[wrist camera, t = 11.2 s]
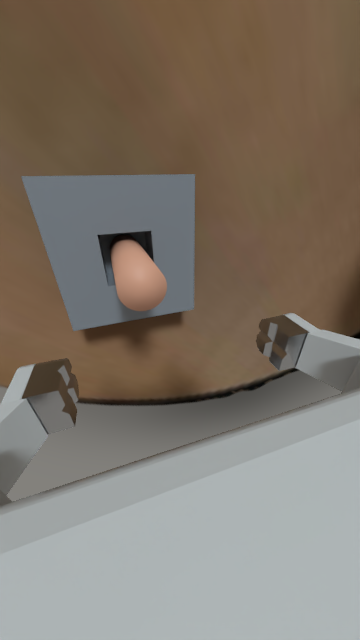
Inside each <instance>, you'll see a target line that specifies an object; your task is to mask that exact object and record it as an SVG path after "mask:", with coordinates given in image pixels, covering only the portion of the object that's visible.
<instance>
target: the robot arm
mask: <svg viewBox="0 0 360 640" xmlns="http://www.w3.org/2000/svg"><path fill="white" fill-rule="evenodd" d="M259 329H260V330H261V331H260V332H259V334H258V335H257V339H256V343H257V347H258V349H259V351H260V352H261V353H262V354H263V355H265V356H268V357H269V361H270V362H271V363H272V364H273V365H274V366H275V367H276V368H277V369H278V370H279V371H281V370H285V369H289V368H293V367H296V368H297V369H299V370H301V371H303V372H305V373H307V374H309V375H311V376H313V377H315V378H317V379H319V380H320V381H322V382H324V383H326V384H328V385H330V386H332V387H334V388H336V389H338V390H340V391H342V393H341V394H339V395H336V396H332V397H330V398H327V399H323V400H321V401H317V402H315V403H311V404H309V405H305V406H302V407H299V408H296V409H293V410H290V411H287V412H284V413H281V414H278V415H275V416H272V417H269V418H266V419H263V420H260V421H257V422H254V423H251V424H248V425H245V426H242V427H239V428H236V429H232V430H230V431H227V432H223V433H220V434H217V435H214V436H211V437H208V438H205V439H202V440H199V441H196V442H193V443H190V444H187V445H184V446H181V447H178V448H175V449H172V450H169V451H166V452H162V453H160V454H156V455H153V456H150V457H147V458H144V459H141V460H139V461H135V462H132V463H129V464H126V465H123V466H120V467H117V468H114V469H111V470H108V471H105V472H102V473H99V474H96V475H92V476H89V477H86V478H83V479H80V480H77V481H74V482H71V483H68V484H65V485H62V486H59V487H56V488H53V489H50V490H47V491H44V492H41V493H38V494H35V495H32V496H29V497H26V498H22V499H19V500H16V501H13V502H12V501H11V500H10V499H9V498H8V497H7V496H6V495H7V494H8V492H9V491H10V489H11V488H12V487H13V485H14V484H15V482H16V481H17V480H18V478H19V477H20V475H21V474H22V472H23V471H24V469H25V468H26V467H27V465H28V464H29V463H30V461H31V460H32V458H33V457H34V455H35V454H36V453H37V451H38V450H39V448H40V447H41V445H42V444H43V443H44V441H45V440H46V438H47V437H48V434H51V433H55V432H58V431H61V430H65V429H68V428H71V427H74V426H75V422H76V414H77V409H76V406H75V403H76V402H77V401H78V397H79V389H78V382H77V379H76V376H75V375H74V374H72V373H71V368H72V366H71V363H70V361H69V359H67V358H65V359H59V360H54V361H48V362H43V363H37V364H32V365H27V366H22V367H20V368H18V369H17V371H16V373H15V375H14V377H13V379H12V381H11V383H10V385H9V387H8V390H7V392H6V394H5V396H4V398H3V400H2V402H1V404H0V640H360V339H356V338H352V337H349V336H345V335H341V334H337V333H334V332H330V331H326V330H319V329H318V328H316V327H314V326H313V325H311V324H310V323H308V322H307V321H305V320H303V319H302V318H300V317H299V316H297V315H296V314H293V313H288V314H284V315H281V316H276V317H271V318H266V319H262V320H261V321H260V324H259Z"/></svg>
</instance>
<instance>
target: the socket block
mask: <svg viewBox="0 0 360 640" xmlns="http://www.w3.org/2000/svg"><path fill="white" fill-rule="evenodd" d="M21 177H22V180H23V183H24V186H25V189H26V192H27V195H28V198H29V201H30V204H31V207H32V210H33V213H34V216H35V219H36V221H37V224H38V227H39V230H40V233H41V236H42V239H43V242H44V245H45V248H46V251H47V254H48V257H49V260H50V263H51V266H52V269H53V272H54V275H55V278H56V280H57V283H58V286H59V289H60V292H61V295H62V298H63V301H64V304H65V307H66V310H67V313H68V316H69V319H70V322H71V325H72V328H73V331H76V330H82V329H87V328H93V327H98V326H104V325H109V324H115V323H120V322H126V321H131V320H137V319H142V318H148V317H153V316H159V315H164V314H170V313H175V312H181V311H187V310H192V309H194V233H195V174H181V175H99V176H21ZM123 234H125V235H130V236H132V237H133V238H135V239H136V240H137V242H138V243H139V244H140V245H141V247H142V248H143V249H144V250H145V252H146V253H147V254H148V256H149V257H150V258H151V259H152V261H153V262H154V263H155V265H156V266H157V267H158V268H159V270H160V271H161V272H162V273H163V275H164V277H165V279H166V282H167V291H166V295H165V297H164V299H163V300H162V302H161V303H160V304H159V305H157V306H156V307H155V308H153V309H150V310H147V311H135V310H132V309H129V308H127V307H126V306H125V305H124V304H123V303H122V302H121V301H120V299H119V297H118V294H117V289H116V284H115V279H114V273H113V268H112V262H111V257H110V251H109V247H110V243H111V241H112V240H113V239H114V238H115V237H117V236H119V235H123Z"/></svg>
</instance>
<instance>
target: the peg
mask: <svg viewBox="0 0 360 640" xmlns="http://www.w3.org/2000/svg"><path fill="white" fill-rule="evenodd" d="M109 251H110V257H111V262H112V268H113V273H114V279H115V284H116V289H117V294H118V297H119V299H120V301H121V302H122V303H123V304H124V305H125V306H126V307H127V308H129V309H132V310H135V311H147V310H150V309H153V308H155V307H156V306H157V305H159V304H160V303H161V302H162V300H163V299H164V297H165V295H166V291H167V282H166V279H165V277H164V275H163V273H162V272H161V271H160V270H159V268H158V267H157V266H156V265H155V263H154V262H153V261H152V259H151V258H150V257H149V256H148V254H147V253H146V252H145V250H144V249H143V248H142V247H141V245H140V244H139V243H138V242H137V240H136V239H135V238H133V237H132V236H130V235H125V234H123V235H119V236H117V237H115V238H114V239H113V240H112V241H111V243H110V247H109Z"/></svg>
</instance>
